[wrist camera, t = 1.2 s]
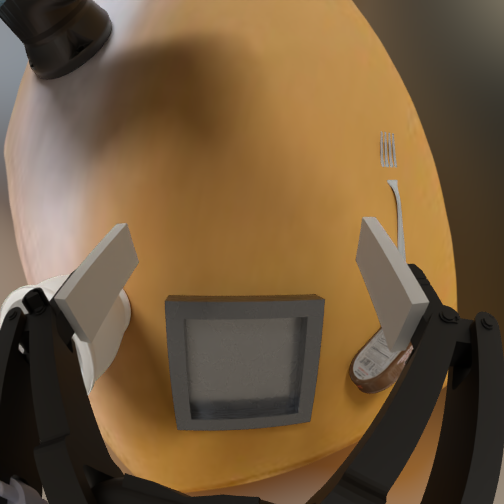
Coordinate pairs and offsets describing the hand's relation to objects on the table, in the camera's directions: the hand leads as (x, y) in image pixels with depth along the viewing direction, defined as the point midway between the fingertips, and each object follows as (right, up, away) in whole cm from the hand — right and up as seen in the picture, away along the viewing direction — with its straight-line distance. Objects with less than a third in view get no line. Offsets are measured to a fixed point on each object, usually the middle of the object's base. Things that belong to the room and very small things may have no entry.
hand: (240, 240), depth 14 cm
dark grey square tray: (-1, -15, +18) cm, 23 cm away
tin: (+19, -13, +21) cm, 32 cm away
